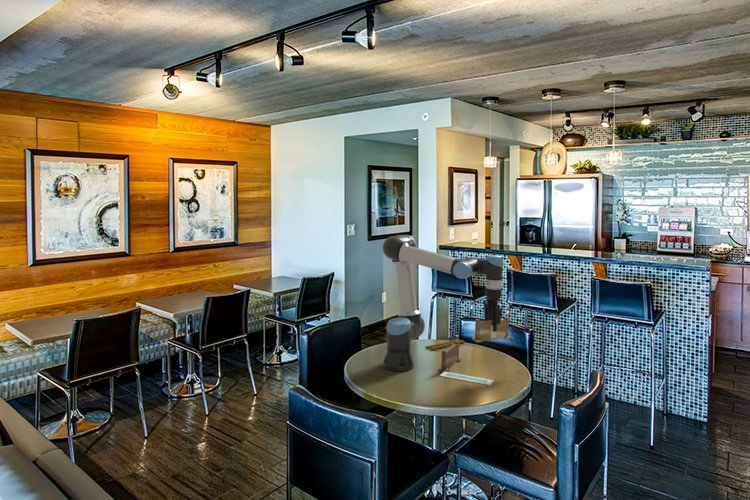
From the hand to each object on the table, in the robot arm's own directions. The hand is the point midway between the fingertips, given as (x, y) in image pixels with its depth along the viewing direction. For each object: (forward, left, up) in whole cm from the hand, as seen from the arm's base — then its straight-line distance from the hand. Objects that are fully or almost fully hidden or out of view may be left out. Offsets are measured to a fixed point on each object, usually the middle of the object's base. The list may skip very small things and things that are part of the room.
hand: (491, 337), depth 236 cm
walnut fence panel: (-21, +1, -18) cm, 27 cm away
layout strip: (-8, -13, -18) cm, 23 cm away
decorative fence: (-35, +31, -18) cm, 50 cm away
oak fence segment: (0, 0, -1) cm, 1 cm away
